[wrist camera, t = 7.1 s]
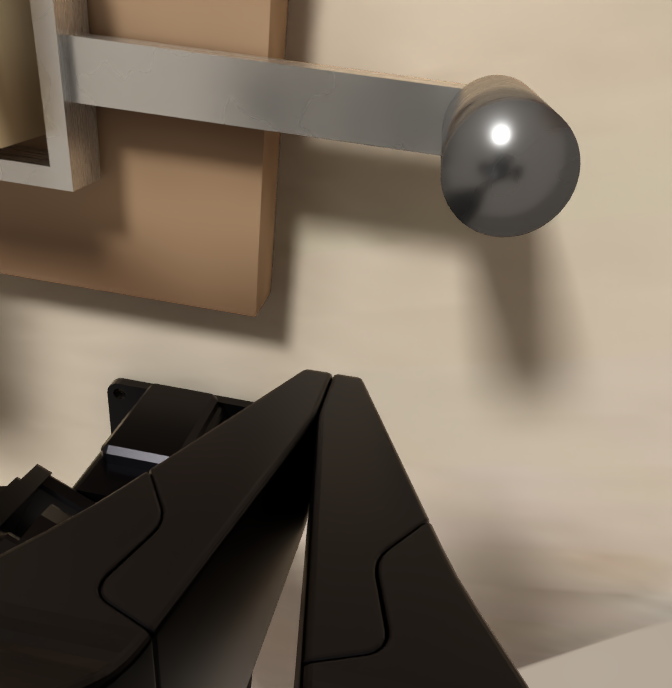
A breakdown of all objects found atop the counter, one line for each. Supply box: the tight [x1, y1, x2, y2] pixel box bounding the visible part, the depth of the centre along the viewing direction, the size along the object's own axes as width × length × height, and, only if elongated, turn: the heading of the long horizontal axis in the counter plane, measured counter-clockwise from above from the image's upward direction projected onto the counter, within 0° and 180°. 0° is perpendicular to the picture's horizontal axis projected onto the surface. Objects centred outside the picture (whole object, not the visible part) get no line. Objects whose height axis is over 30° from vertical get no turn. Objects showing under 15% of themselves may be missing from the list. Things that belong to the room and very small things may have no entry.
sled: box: [0, 0, 580, 237], centre depth 14 cm, size 6×18×6 cm, turn 83°
